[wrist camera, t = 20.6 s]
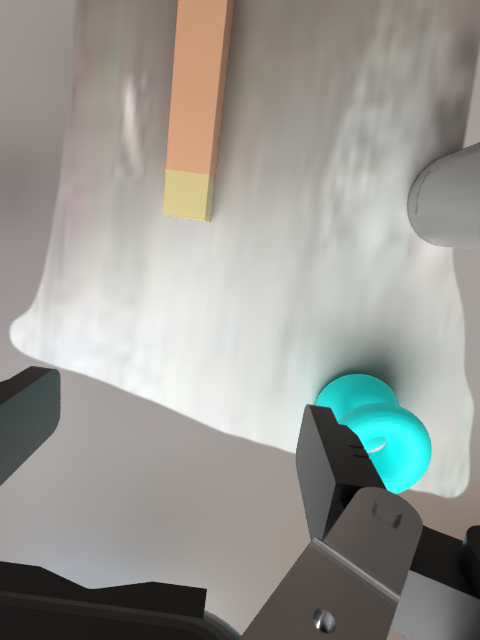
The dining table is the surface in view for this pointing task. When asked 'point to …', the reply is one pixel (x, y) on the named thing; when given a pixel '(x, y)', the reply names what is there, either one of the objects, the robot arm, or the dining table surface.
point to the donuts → (381, 428)
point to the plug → (196, 106)
